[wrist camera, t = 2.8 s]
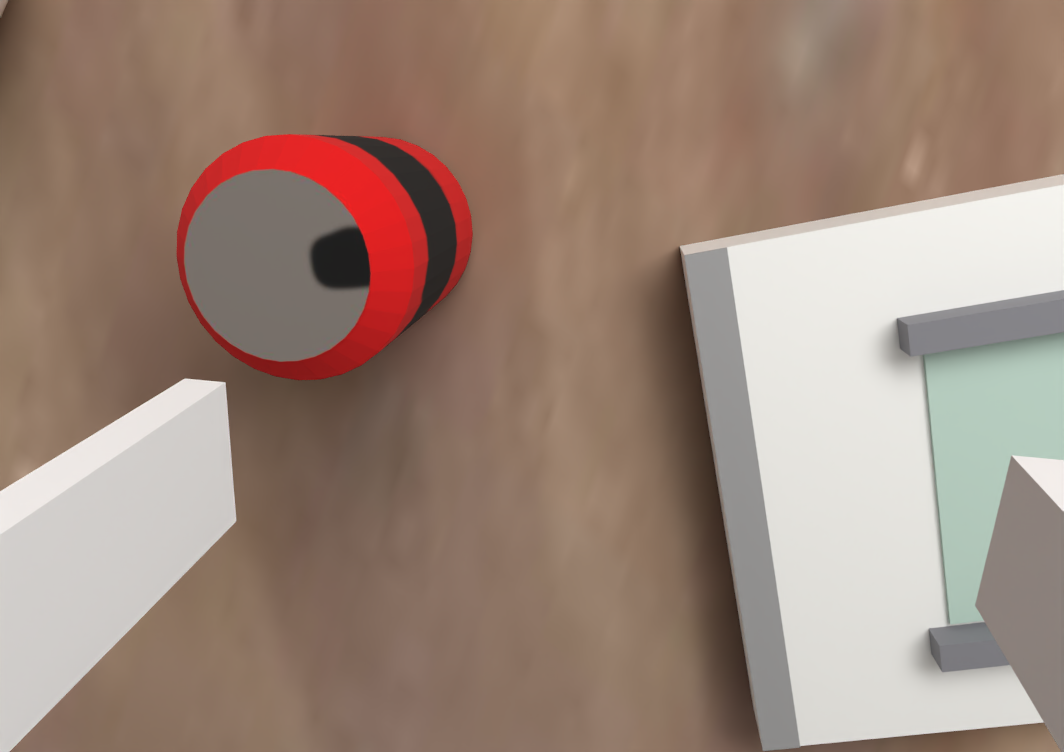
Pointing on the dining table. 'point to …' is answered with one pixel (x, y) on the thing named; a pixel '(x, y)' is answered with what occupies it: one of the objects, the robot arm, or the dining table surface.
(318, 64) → the dining table surface
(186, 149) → the dining table surface
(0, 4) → the lidded bowl
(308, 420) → the dining table surface
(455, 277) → the soda can
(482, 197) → the dining table surface
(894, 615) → the dock
